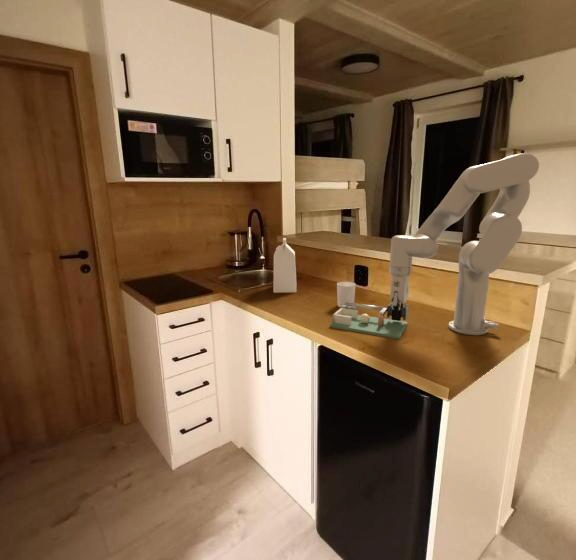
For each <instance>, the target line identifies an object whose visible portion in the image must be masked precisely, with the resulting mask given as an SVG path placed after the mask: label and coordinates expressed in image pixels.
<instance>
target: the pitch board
mask: <svg viewBox="0 0 576 560" xmlns="http://www.w3.org/2000/svg"><path fill="white" fill-rule="evenodd" d="M341 308H345V309H352V310H358V309H357V308H358V307H353V306H351V307H350V308H348V306H346V305H342V306H341ZM361 315H362V314H358V318H357V319H356V318H352V321H351V325H346V324H340V323H334V322H333V321H331V323H330V324H329V328H333V329H339V330H345V331H351V332H356V333H363V334H367V335H374V336H380V337H386V338H390V339H391V338H392V339H396V340H400V339H401V337H402V335H403V333H404V331H405V330H406V328H407V326H408V322H409V321H405V320H400V321H396V320H392V319H391V318H384V324H383V326H382V327H381V326H378V317H376V316H371V315H369V317H370V320H369V322H368V323H362V322H361V321H360V316H361Z"/></svg>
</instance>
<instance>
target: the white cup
mask: <svg viewBox="0 0 576 560" xmlns="http://www.w3.org/2000/svg"><path fill="white" fill-rule="evenodd" d="M356 286H357V285H356V283H355V282H351V281H340V282H337V283H336V295H337V297H336V299H337V307H338V308H339V309H340V308H341V306H342V305H345V302H350V303H355V295H356ZM350 307H351V306H348V309H350Z"/></svg>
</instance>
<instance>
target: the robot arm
mask: <svg viewBox="0 0 576 560" xmlns="http://www.w3.org/2000/svg"><path fill="white" fill-rule="evenodd" d="M539 166H540V162H539V160H538V158H537V157H536V156H535V155H533V154H531V153H529V152H528V153H527V152H524V153H523V152H522V153H517V154H512V155H508V156H506V157H504V158H502V159H499V160H495V161H491V162H487V163H484V164H483V163H482V164H479V165H473V166H469V167H468V168H466V169H465V170H464V171H462V173H461V174H460V176H459V177H458V179H457V180H456V181H455V182H454V183H453V185H452V187H451V188H450V189H449V191H448V192H447V194H446V195H445V196H444V198H443V199H442V200H441V201H440V203H439V204H438V205H437V207H436V208H435V209H434V210H433V212H431V214H430V215H429V216H428V217H427V218H426V219H425V221H424V222H423V223H422V224H421V226H420V228H418V230H417V231H416V233H415V234H414V236H413V237H412V236H410V235H404V234H401V235H400V234H399V235H398V234H397V235H394V236H392V237H391V240H390V253H389V255H390V256H389V257H390V258H389V275H390V276H391V282H390V295H389V298H390V299H389V301H390V302H393V306H392V316H391V320H396V321H402V320H401V319H402V317H401V310H400V309H401V306H405V305H404V303H405V304H406V301H407V300H408V299H409V292H410V291H409V289H410V288H409V286H410V285H409V283H410V276H412V268H413V267H412V266H413V258H420V259H429V258H432V257H434V256H435V255H436V254H437V252H438V250H439V244H438V242H437V240H438V239H439V237H440V236H441V235H442V234H443V232H444V231H446V229H447V228H449V227H450V226H451V225H453V224H455V223H457V222H459V221H460V220H461V219H462V218H463V217H464V215H466V213H467V211H468V210H469V209H470V208H471V206H472V205H473V204H474V202H475V201H476V200H477V198H478V197H479V196H480V194H484V193H488V192H494V191H497V190H499V193H498V195H497V197H496V198H495V200H494V202H493V203H492V205H491V207H490V208H489V209H488V211H487V213H486V215H485V216H484V218H483V219H482V220H481V221H480V224H479V227H478V231H479V234H480V235H481V238H480V239H479V240H471V241H468V242H466V243H465V244H464V245H463V246H462V247H461V249H460V251H459V254H458V276H457V285H456V286H457V287H456V296H455V307H454V317H453V320H451V321H449V322H448V328H449V329H450V330H452V331H453V332H456V333H458V334H463V335H467V336H468V335H469V336H482V335H486V334H487V333H488V329H493V330H499V325H500V324H499V323H495V321H491V320H490V321H488V320H487V319H486V316H485V315H486V305H487V299H488V292H489V291H488V289H489V283H490V274H493V273H494V272H495V271H497V270H498V269H499V268H500V267H501V266H502V264H503V263H504V261H505V260H506V259H507V257H508V256H509V254H510V253H511V251H512V250H513V249H514V247H515V246H516V244H517V243H518V241H519V239H520V238H521V235H522V232H523V226H522V222H521V220H520V219H519V217H520V215H521V213H522V212H523V210H524V208H525V206H526V205H527V203H528V201H529V198H530V195H531V192H530V191H531V184H530V181H531V180H532V178H534V177H535V176H536V174H538V171H539V168H540V167H539ZM398 305H399V306H398Z"/></svg>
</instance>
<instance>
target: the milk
mask: <svg viewBox="0 0 576 560" xmlns="http://www.w3.org/2000/svg"><path fill="white" fill-rule="evenodd" d="M296 268H297V266H296V251H295V250H294V249H292V247H291V246H290V245H289V244H288V243H287V237H283V238H282V244H281V245H278V246H277V247H276V248H275V250H274V253H273V284H272V285H273V287H272V289H273V291H272V292H273V293H280V294H281V293H297V292H298V291H297V269H296Z"/></svg>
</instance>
